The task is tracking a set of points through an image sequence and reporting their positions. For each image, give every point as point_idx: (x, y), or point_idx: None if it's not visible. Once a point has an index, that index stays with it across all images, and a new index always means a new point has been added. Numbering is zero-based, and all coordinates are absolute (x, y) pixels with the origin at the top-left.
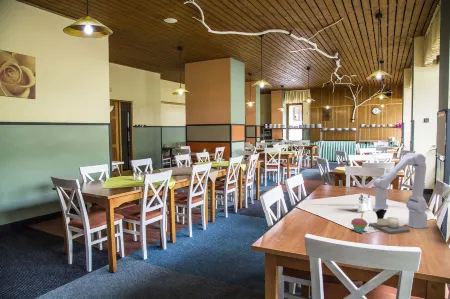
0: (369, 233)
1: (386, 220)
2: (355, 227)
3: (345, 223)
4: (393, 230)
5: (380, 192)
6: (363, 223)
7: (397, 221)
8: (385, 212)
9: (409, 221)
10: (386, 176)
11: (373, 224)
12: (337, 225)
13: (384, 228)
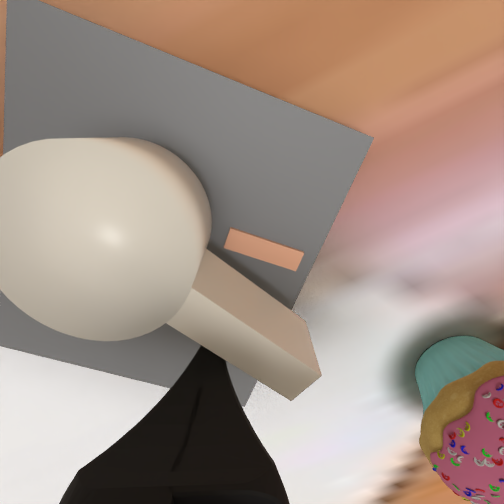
0: (472, 281)
1: (219, 296)
2: None
3: (329, 488)
4: (279, 130)
5: None
6: None
7: (104, 141)
8: (127, 453)
9: None
10: None
11: (241, 370)
12: (420, 491)
13: (286, 243)
